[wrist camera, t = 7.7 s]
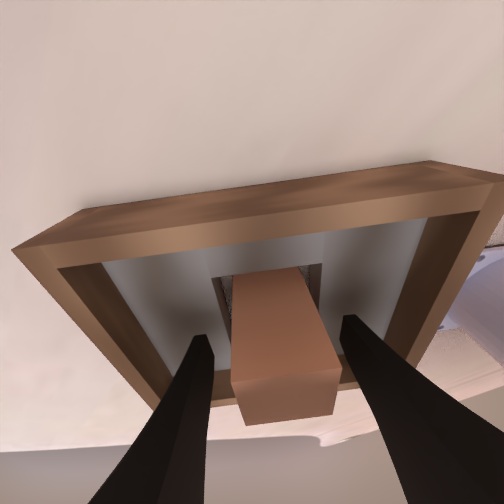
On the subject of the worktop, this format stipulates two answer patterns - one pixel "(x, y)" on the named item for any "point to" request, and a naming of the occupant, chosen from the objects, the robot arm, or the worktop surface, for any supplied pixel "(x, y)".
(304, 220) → the box
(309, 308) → the terracotta peg
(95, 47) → the worktop surface
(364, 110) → the worktop surface
